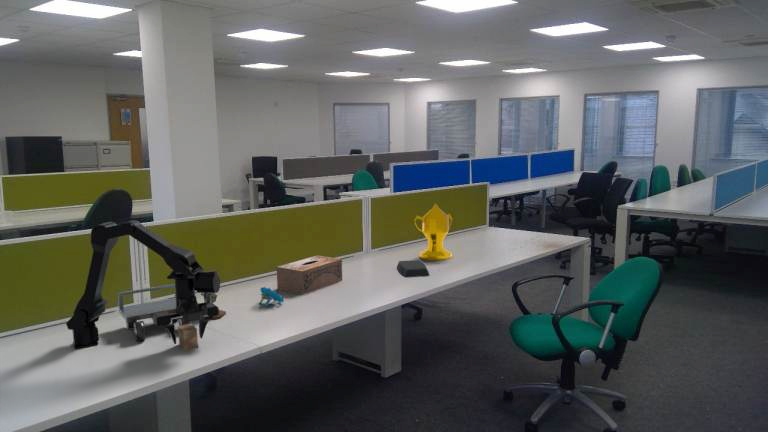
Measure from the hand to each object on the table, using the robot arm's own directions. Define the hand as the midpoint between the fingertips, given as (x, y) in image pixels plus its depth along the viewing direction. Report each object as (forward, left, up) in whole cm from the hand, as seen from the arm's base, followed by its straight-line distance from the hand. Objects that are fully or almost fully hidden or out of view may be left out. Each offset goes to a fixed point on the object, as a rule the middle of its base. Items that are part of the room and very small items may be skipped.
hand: (188, 340), depth 176 cm
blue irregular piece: (+39, +25, -2) cm, 46 cm away
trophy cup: (+143, +52, -2) cm, 152 cm away
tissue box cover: (+64, +41, -2) cm, 76 cm away
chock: (0, 0, -2) cm, 2 cm away
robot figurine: (+15, +25, -2) cm, 29 cm away
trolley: (-4, +21, -2) cm, 22 cm away
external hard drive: (+114, +33, -2) cm, 118 cm away
